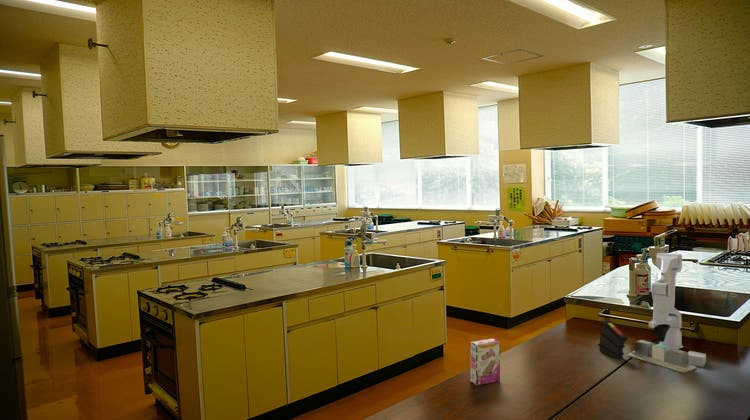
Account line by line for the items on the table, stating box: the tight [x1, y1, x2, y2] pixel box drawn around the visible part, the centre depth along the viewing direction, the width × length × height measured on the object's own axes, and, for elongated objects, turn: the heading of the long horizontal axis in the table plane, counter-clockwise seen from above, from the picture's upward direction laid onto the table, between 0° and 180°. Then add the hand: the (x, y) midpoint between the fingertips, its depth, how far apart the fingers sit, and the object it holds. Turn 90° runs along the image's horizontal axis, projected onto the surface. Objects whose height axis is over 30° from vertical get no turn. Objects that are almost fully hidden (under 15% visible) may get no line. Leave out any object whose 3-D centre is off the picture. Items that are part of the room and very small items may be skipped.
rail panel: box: [627, 339, 697, 374], centre depth 208 cm, size 9×24×7 cm, turn 30°
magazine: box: [597, 320, 629, 360], centre depth 217 cm, size 4×13×15 cm, turn 19°
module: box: [652, 343, 669, 361], centre depth 208 cm, size 4×5×5 cm
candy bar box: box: [469, 338, 501, 387], centre depth 192 cm, size 11×5×16 cm, turn 111°
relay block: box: [688, 350, 707, 368], centre depth 205 cm, size 6×6×4 cm
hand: (660, 341), depth 208 cm, fingers closed
